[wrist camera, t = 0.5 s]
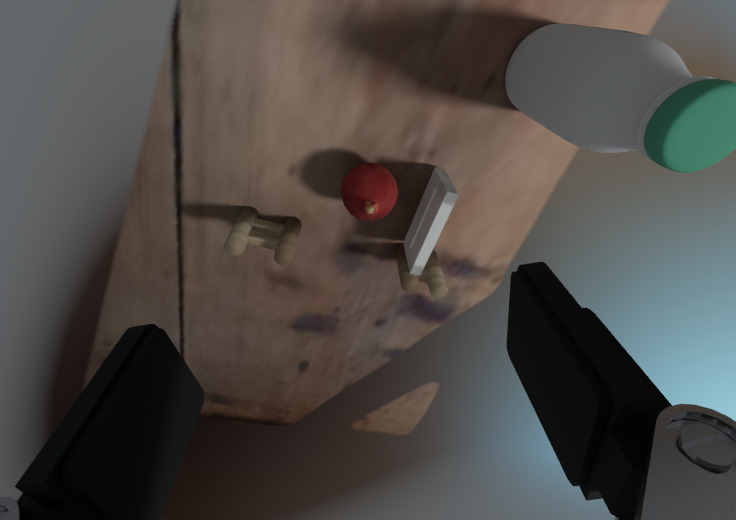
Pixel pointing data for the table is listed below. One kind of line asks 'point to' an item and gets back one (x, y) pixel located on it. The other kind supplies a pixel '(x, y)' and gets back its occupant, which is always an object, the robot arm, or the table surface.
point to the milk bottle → (622, 96)
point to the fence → (285, 245)
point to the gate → (429, 220)
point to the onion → (369, 192)
